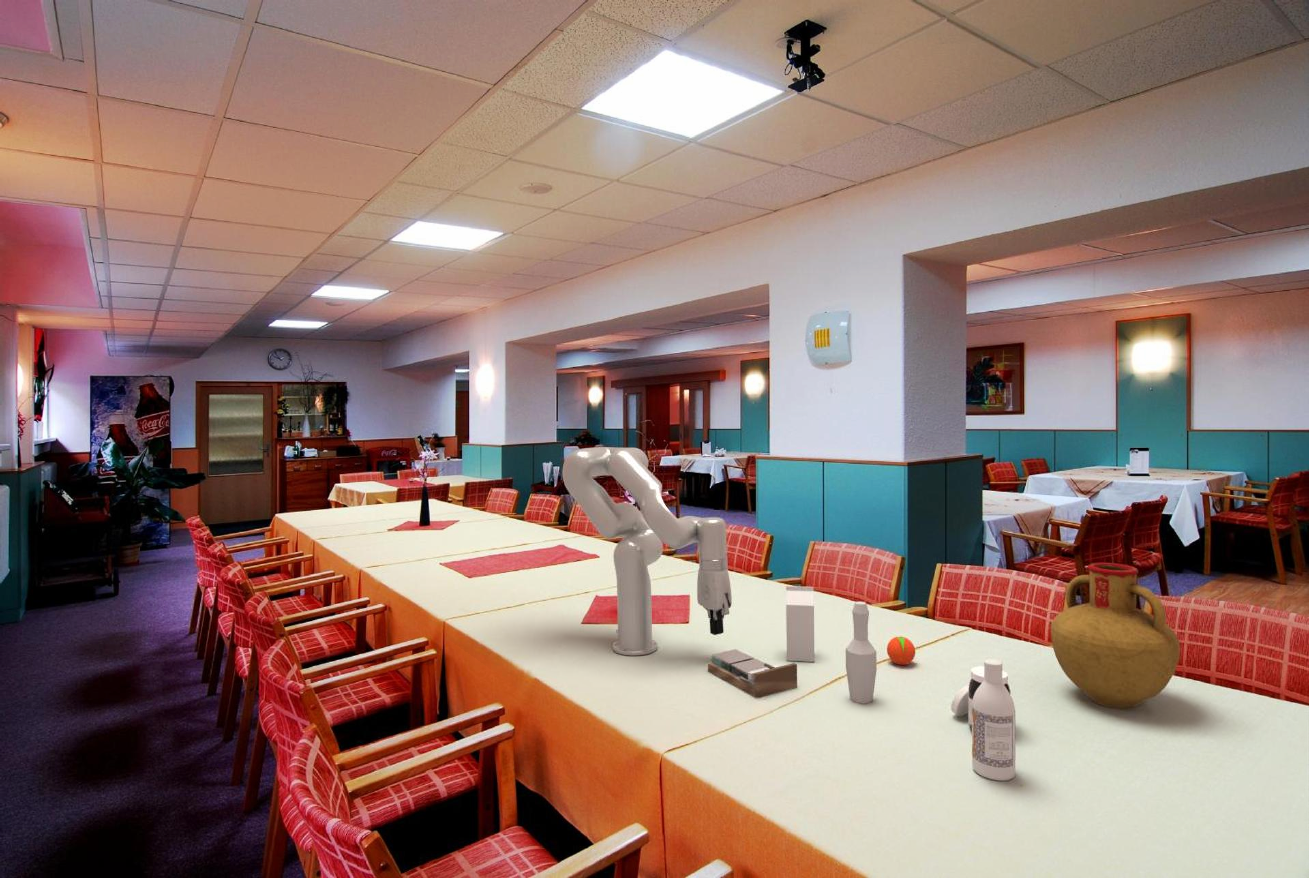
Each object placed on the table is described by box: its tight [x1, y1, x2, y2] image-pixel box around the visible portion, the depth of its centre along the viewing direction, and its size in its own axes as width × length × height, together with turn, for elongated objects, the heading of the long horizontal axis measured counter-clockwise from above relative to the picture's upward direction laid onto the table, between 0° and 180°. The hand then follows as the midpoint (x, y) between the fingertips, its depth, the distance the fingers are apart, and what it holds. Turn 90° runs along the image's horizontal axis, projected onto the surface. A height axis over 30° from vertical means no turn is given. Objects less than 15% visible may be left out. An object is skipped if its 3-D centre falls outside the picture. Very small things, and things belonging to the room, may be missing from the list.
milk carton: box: [785, 585, 816, 663], centre depth 183 cm, size 7×7×19 cm
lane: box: [707, 662, 798, 699], centre depth 168 cm, size 20×12×6 cm, turn 30°
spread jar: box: [950, 665, 1012, 729], centre depth 142 cm, size 12×11×12 cm
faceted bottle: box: [845, 601, 878, 705], centre depth 155 cm, size 6×6×22 cm
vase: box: [1050, 562, 1181, 709], centre depth 152 cm, size 24×24×30 cm
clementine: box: [886, 636, 916, 665], centre depth 176 cm, size 8×7×7 cm
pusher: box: [748, 664, 782, 683], centre depth 164 cm, size 1×9×4 cm, turn 120°
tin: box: [711, 649, 755, 673], centre depth 176 cm, size 8×8×4 cm
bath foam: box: [971, 658, 1016, 782], centre depth 123 cm, size 7×7×20 cm
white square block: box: [731, 658, 766, 680], centre depth 168 cm, size 8×8×4 cm
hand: (717, 633), depth 182 cm, fingers closed
